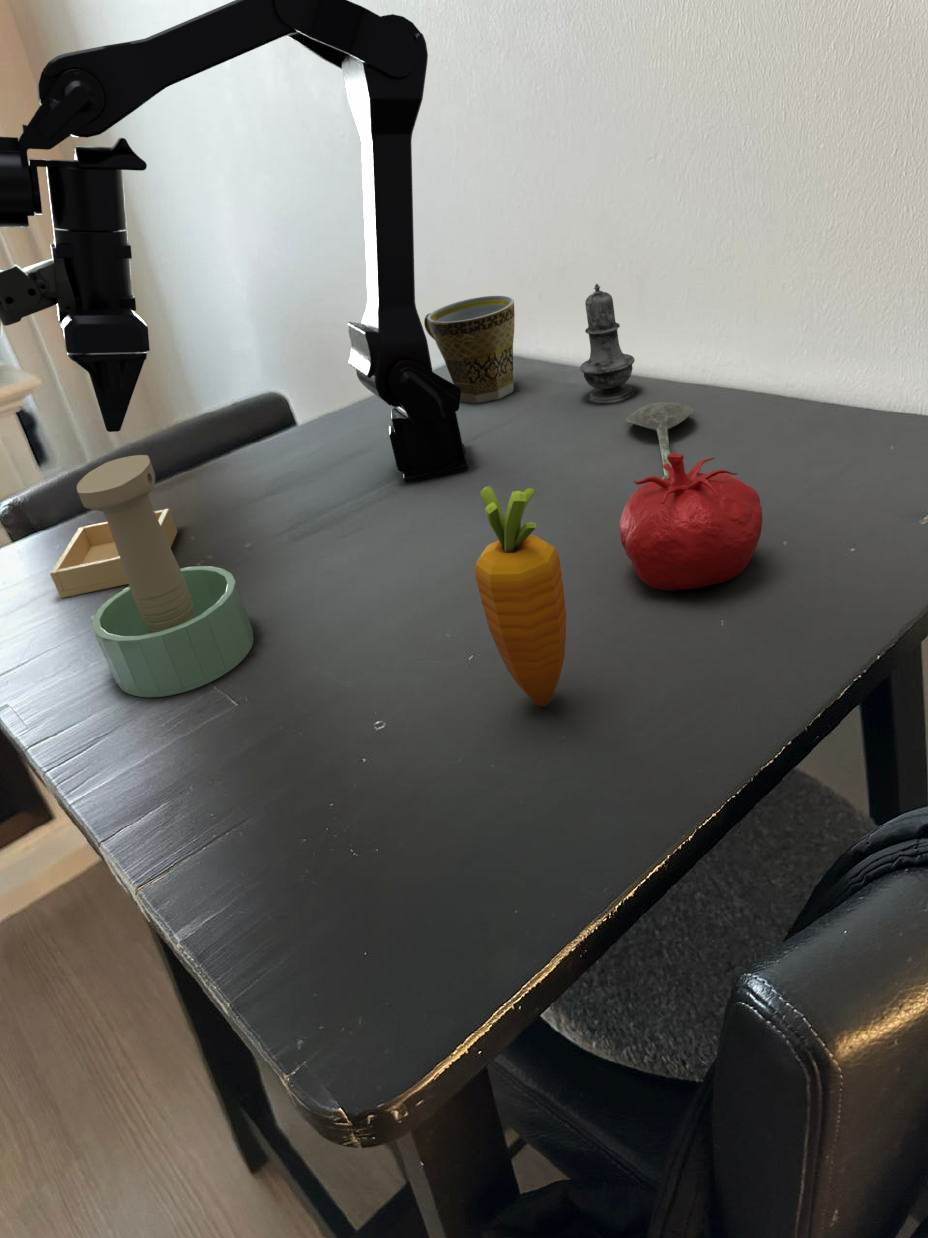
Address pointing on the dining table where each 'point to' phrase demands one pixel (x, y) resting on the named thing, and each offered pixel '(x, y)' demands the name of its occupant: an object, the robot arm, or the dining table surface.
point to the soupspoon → (661, 422)
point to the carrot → (523, 598)
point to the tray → (97, 558)
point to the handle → (139, 539)
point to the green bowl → (176, 638)
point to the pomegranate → (690, 527)
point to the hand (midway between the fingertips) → (109, 418)
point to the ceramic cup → (476, 345)
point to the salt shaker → (605, 353)
